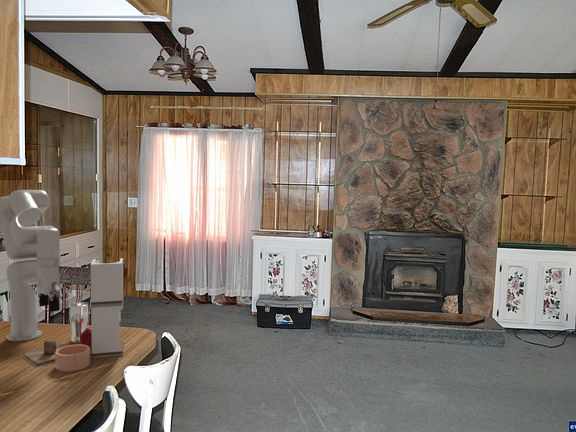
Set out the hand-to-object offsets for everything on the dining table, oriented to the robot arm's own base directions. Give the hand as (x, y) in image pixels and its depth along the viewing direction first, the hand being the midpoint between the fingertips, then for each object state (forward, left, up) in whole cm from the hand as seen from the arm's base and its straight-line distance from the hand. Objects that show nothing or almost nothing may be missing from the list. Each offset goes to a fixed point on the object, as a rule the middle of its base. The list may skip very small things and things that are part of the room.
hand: (49, 308), depth 171 cm
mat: (0, 0, -18) cm, 18 cm away
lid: (0, 0, -18) cm, 18 cm away
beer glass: (-10, +15, -18) cm, 26 cm away
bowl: (+15, +2, -18) cm, 24 cm away
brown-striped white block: (+11, +17, -18) cm, 27 cm away
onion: (0, +14, -18) cm, 23 cm away
